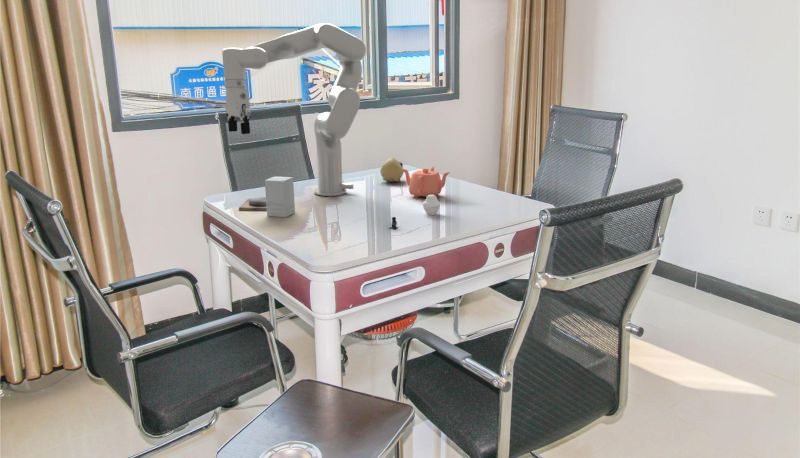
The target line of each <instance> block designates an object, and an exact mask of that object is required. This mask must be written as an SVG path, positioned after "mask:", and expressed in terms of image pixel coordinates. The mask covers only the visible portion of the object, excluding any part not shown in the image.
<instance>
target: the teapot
mask: <svg viewBox="0 0 800 458" xmlns="http://www.w3.org/2000/svg"><path fill="white" fill-rule="evenodd" d="M402 170H403V171H404V175H405V181H406V184H407V186H409V187H408V191H409V194H410V195H411V196H413V198H415V199H419V198H420V197H427V196H428V195H431V194H432V195H435V196H436V197H437V196H439V194H441V192H442V189H444V187H445V184H446V181H447V176H448V175H449V174H450V173H451V172H450V171H449V172H448V171H447V172H444V173H443V175H442V177H441V176H440V172H438V171H435V166H431V167H430V169H429V168H427V167H424V168H422V170H416V171H414V172H413V173H412V174H411V177H410V172H409V171H408V169H405V168H403V169H402Z"/></svg>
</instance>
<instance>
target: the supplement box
mask: <svg viewBox="0 0 800 458" xmlns="http://www.w3.org/2000/svg"><path fill="white" fill-rule="evenodd" d="M264 188H265V189H264V190H265V197H266V206H267V211H266V216H267V217H279V218H286V217H289V216H291V215H293V214H294V213H296V206H295V205H296V203H295V189H294V177H293V176H291V177H290V176H272V177H269V178H267V179H265V180H264Z"/></svg>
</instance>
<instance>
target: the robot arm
mask: <svg viewBox="0 0 800 458" xmlns="http://www.w3.org/2000/svg"><path fill="white" fill-rule="evenodd" d="M326 48H327V49H328V50H330V51H332V52H334V53H335V56H336V57H337V59H338V61H339V71H338V74H337V77H336V79H335V81H334V84H333V85H332V88H331V89H330V92H329V94H328V97H327V98H328V99H327V102H328V103H327V104H328V105H329V107H330V108H331V110H330V111H324V112H321V113H319V114H318V115H317V116H316V118H315V120H314V125H313V128H314V129H313V131H314V134H315V135H314V136H315V142H316V143H315V144H316V161H317V162H316V163H317V165H316V166H317V185H318V186H317V188H316V189H314V194H315V195H317V196H323V197H336V196H343V195H345V194H347V190H354V184H353V183H345V182H344V181H345V180H344V179H343V168H342V166H343V165H342V164H343V163H342V142H341V140H342V139H343V138H345V136H347V134H348V133H349V131H350V129H351V127H352V125H353V123H354V121H355V118H356V116H357V114H358V111H359V109H360V106H361V96H360V94H359V93H358V91H357V89H358V86H359V83H360V81H361V79H362V75H363V68H362V62H361V60H363V59H364V57H365V56H366V52H367V48H366V44H365V43H364V41H363V40H362V39H360V38H359V37H357V36H355V35H353V34H351V33H349V32H347V31H346V30H344V29H341V28H340V27H339V26H337V25H334V24H332V23H326V22H325V23H318V24H315V25H311V26H308V27H305V28H303V29H299V30H297V31H293V32H290V33H286V34H285V35H281V36H279V37H276V38H274V39H271V40H267V41H265V42H260V43H258V44H256V45H252V46H249V47H247V48H240V47H226V48H223V50H222V51H221V53H222V54H221V55H222V56H221V57H222V65H223V67H222V68H223V79H224V89H225V105H226V106H225V108H224V109H225V112H226V114H225V115H226V117H227V118H226V120H227V124H228V125H227V127H228V131H229V132H231V133H233V132H238V121H237V118H239V119H240V133H241V134H242V135H249V134H251V126H250V122H251V114H252V112H251V105H250V104H251V103H250V96H249V92H248V89H247V88H248V87H247V72H246V70H247V69H252V70H260V69H261V70H262V69H264V68H265V67H266V66H267V64H269V63H273V62H277V61H282V60H290V59H295V58H298V57H301V56H303V55H307V54H310V53H313V52H315V51H318V50H321V49H326Z"/></svg>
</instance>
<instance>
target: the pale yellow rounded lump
mask: <svg viewBox="0 0 800 458" xmlns="http://www.w3.org/2000/svg"><path fill="white" fill-rule="evenodd" d="M402 169H404V166H403V163H402V162H400V161H399V160H397V159H396V158H394V157H390V158H388V159H387V160H386V161H384V163H383V164H382V166H381V168H380V169H379V170H380V175H381V177H382V180H383V182H384V181H385V182H400V181H401V178H402V177H403V176H404V174H405V172H404V171H403V170H402Z"/></svg>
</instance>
